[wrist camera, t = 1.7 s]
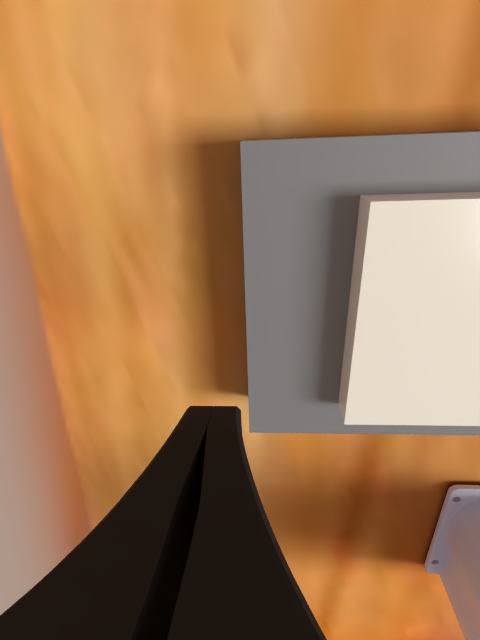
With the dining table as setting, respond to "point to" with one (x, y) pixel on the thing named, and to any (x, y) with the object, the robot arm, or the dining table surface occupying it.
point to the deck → (324, 261)
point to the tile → (414, 312)
